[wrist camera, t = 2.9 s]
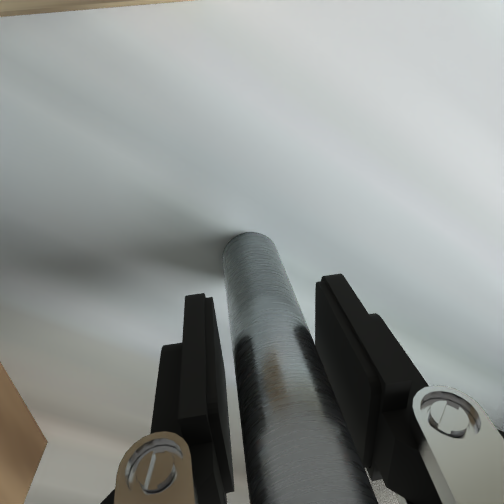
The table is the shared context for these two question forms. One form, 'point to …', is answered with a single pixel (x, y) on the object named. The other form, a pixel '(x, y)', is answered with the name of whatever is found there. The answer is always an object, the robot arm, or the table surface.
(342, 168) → the table surface
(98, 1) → the oak block
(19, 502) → the walnut block
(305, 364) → the cylinder
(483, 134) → the table surface
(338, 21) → the table surface
